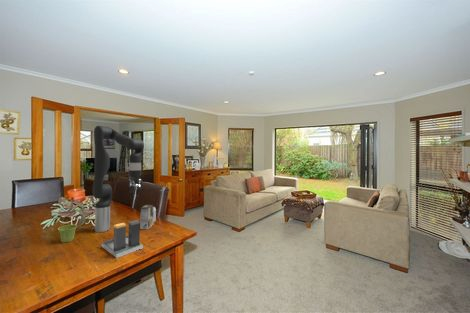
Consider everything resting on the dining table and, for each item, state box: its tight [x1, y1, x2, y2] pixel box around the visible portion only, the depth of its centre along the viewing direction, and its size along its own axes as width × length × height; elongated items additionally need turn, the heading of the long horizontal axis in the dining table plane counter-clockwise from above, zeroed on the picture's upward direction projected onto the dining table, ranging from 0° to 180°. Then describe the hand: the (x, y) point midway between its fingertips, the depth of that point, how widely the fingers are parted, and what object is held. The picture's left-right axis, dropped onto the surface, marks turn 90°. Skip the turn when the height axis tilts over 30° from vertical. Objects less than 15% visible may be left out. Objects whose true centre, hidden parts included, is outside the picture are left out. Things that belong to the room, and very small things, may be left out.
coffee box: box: [139, 204, 154, 230], centre depth 157 cm, size 9×6×16 cm
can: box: [153, 206, 157, 223], centre depth 169 cm, size 8×8×12 cm
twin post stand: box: [101, 219, 144, 259], centre depth 124 cm, size 20×15×16 cm
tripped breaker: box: [113, 222, 127, 251], centre depth 117 cm, size 4×5×14 cm
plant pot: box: [57, 224, 78, 244], centre depth 131 cm, size 9×9×9 cm
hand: (134, 193), depth 137 cm, fingers open, 8 cm apart
